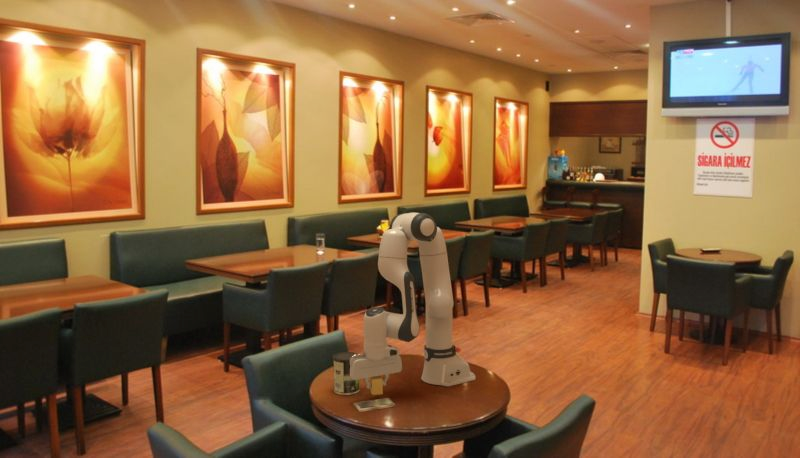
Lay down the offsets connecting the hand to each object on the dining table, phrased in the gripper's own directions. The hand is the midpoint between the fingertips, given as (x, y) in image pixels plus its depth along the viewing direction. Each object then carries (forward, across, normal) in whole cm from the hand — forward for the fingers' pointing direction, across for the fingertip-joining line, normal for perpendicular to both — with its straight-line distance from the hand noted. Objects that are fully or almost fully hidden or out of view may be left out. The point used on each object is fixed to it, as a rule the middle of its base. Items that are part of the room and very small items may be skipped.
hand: (376, 386), depth 247 cm
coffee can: (+5, -7, +13) cm, 16 cm away
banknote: (+5, -3, -5) cm, 8 cm away
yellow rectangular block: (+2, 0, 0) cm, 2 cm away
